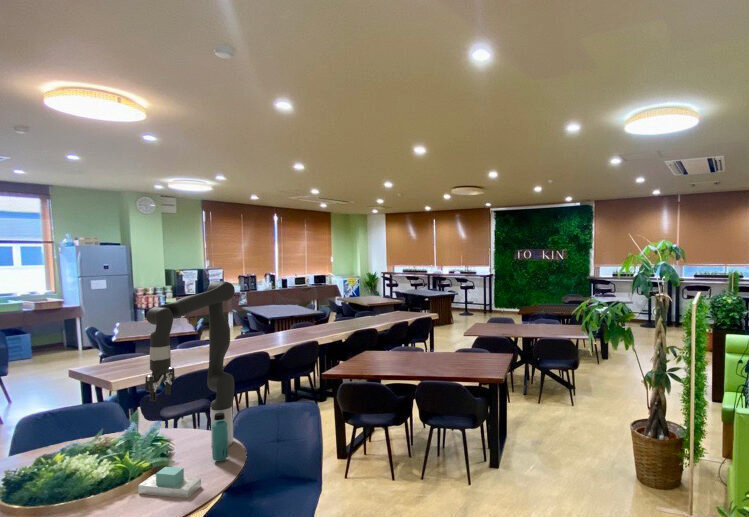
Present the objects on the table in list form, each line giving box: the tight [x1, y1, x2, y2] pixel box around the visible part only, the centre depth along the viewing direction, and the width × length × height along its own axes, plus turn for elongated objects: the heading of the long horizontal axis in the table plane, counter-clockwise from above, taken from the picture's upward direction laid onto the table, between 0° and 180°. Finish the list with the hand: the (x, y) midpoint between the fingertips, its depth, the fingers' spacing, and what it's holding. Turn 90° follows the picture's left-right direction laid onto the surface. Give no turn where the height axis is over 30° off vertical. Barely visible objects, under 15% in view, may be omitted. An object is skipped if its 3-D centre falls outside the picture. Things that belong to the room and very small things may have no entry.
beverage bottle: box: [211, 413, 229, 462], centre depth 179 cm, size 6×7×20 cm
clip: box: [155, 466, 185, 486], centre depth 156 cm, size 8×5×6 cm
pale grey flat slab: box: [137, 473, 202, 499], centre depth 156 cm, size 8×20×3 cm, turn 79°
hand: (160, 397), depth 169 cm, fingers open, 8 cm apart
